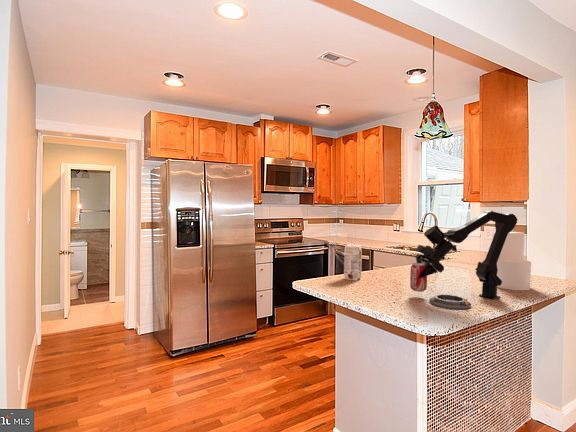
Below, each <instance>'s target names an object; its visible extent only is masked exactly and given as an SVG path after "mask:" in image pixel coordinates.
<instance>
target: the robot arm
mask: <svg viewBox="0 0 576 432" xmlns="http://www.w3.org/2000/svg"><path fill="white" fill-rule="evenodd" d="M489 222H493V223H494V222H495V223H494V227H495V231H494V232H495V235H494V237H493V236H492V240H491V243H490V246H489V248H488V251H487V252H486V253H487V254H486V255H485V256H486V257H485V259H484V260H483V261H478V263H477V266H476V268H475V275H476V276H477V278H478V280H479V282H480V283H482V288H481V294H478V296H479V297H483V298H486V299H491V300H495V299H499V298H501V296H500V295H498V287H497V286H500V285H501V283H502V280H501V279H500V278H499V277H498V276H497V272H498V269H497V261H498V259H499V256H500V253H501V251H502V248H503V245H504V243H505V240H506V237H507V235H508V233H509V232H513V231H512V230H514V229H515V227H516V225H517V223H518V218H517V216H516V215H515V214H513V213H500V212H497V211H493V210H485V211H483V213H481V214H479V215H478V216H476V217H474V218H472V219H471V220H470V221H468V222H466V223H465V224H463V225H461V226H457V227H453V228H450V229H449V230H447V231H446V232H443V231H442V230H441V229H440V228H439V226H438V225H433V226H432V227H429V229H428V228H427V229H426V230H425V231H424V234H423V235H424V237H425V238H427V240H428V241H429V242H430V243H431V244H432V245H435V246H434V247H432V246H430V245H426V246H424V245H421V244H418V245H417V248H416V250H415V252H418V253H416V255H414V258H415V260H416V262H415V263H423V264H426V265H425V268H424V269H423V271H422V272H421V273H420V274H419V276H418V277H419V278H422V277H425V276H427V277H428V276H430V275H434V274H438V273H440V274H441V273H443V271H444V270H445V266H444V265H443V264H442V262H441V261H442V260H445V259H446V257H445V256H446V255H448V253H449V252H451V251H453V252H457V250H458V249H457V245H456V244H461V243H463V242H464V241H465V240H466V239H467V238H468V236H469V235H470V234H471V233H473V232H474V231H476V230H478V229H479V228H481V227H483V226H484V225H486V224H487V223H489ZM453 243H454V244H453Z"/></svg>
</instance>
